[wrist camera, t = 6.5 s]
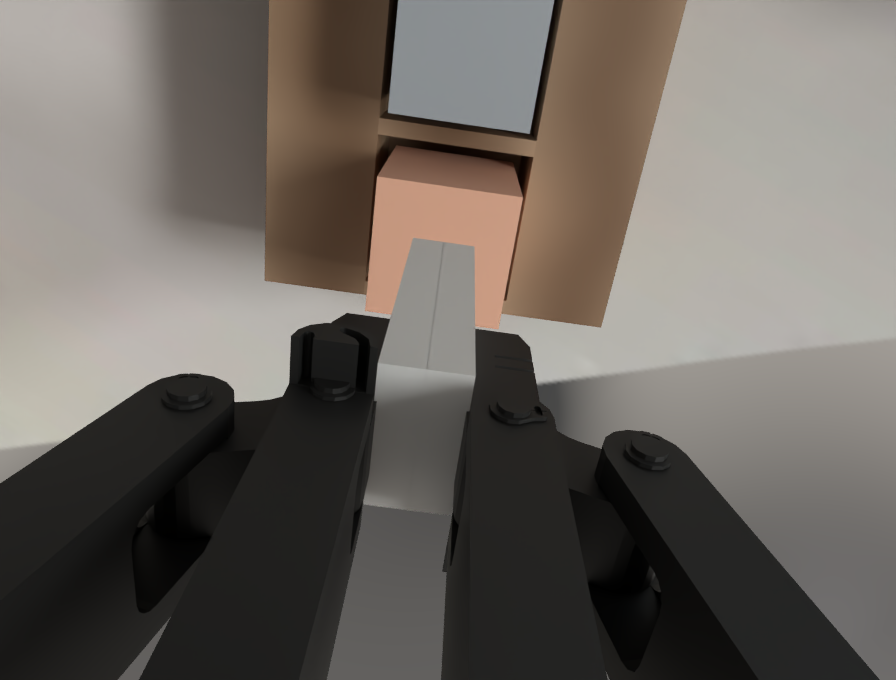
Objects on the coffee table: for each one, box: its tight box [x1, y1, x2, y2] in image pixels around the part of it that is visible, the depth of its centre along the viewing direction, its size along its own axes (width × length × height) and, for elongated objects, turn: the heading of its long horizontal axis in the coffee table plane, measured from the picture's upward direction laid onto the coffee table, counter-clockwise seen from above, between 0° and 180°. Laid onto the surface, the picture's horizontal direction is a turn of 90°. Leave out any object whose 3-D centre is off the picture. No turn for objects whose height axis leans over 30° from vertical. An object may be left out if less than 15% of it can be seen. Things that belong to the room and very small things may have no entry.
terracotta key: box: [365, 145, 523, 329], centre depth 21 cm, size 4×4×5 cm
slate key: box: [388, 0, 554, 134], centre depth 20 cm, size 4×4×5 cm
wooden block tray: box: [265, 0, 687, 327], centre depth 22 cm, size 12×17×5 cm
